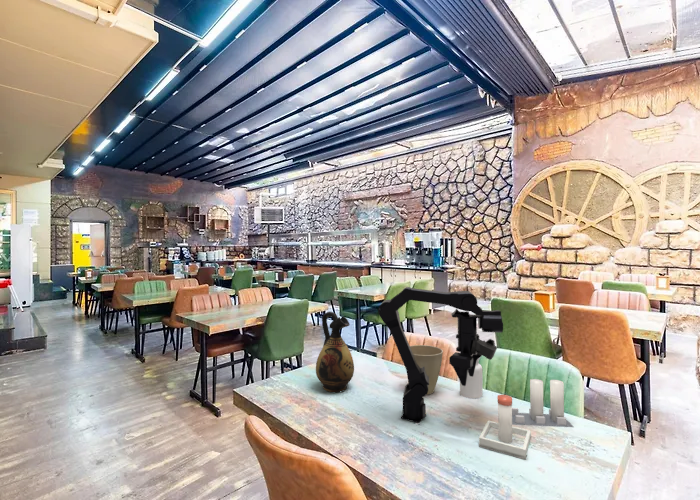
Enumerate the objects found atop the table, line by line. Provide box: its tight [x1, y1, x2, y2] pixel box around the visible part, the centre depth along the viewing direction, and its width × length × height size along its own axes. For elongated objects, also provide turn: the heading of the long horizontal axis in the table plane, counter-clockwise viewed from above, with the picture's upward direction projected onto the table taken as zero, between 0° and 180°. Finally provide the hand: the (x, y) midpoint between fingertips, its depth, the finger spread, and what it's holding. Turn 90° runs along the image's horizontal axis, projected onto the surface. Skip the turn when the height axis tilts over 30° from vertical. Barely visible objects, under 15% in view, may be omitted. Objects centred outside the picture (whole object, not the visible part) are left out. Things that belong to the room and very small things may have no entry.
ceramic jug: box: [315, 311, 355, 393], centre depth 141 cm, size 17×15×30 cm
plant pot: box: [409, 344, 444, 396], centre depth 136 cm, size 15×15×16 cm
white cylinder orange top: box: [496, 394, 513, 444], centre depth 99 cm, size 4×4×12 cm
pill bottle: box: [459, 358, 484, 400], centre depth 130 cm, size 8×8×15 cm
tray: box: [478, 420, 532, 460], centre depth 99 cm, size 12×12×2 cm
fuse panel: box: [512, 378, 575, 428], centre depth 110 cm, size 19×8×13 cm, turn 83°
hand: (467, 380), depth 111 cm, fingers open, 9 cm apart
